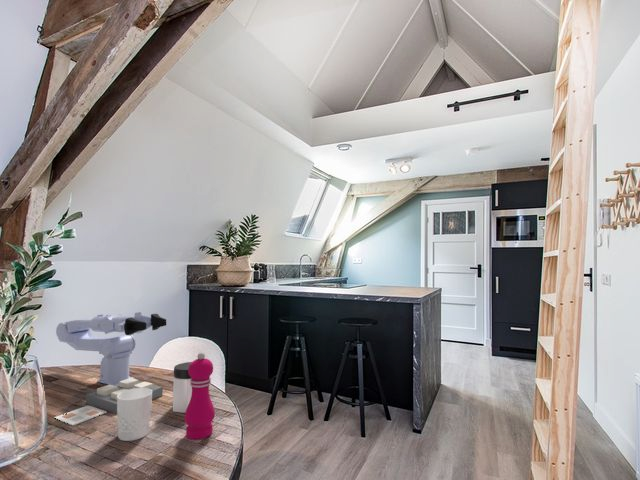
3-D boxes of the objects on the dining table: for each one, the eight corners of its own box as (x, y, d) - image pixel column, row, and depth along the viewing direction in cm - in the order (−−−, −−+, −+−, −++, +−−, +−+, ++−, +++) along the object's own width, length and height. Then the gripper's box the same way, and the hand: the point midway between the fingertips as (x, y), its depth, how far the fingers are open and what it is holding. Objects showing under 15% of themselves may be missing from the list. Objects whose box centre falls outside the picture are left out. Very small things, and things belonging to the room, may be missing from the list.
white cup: (141, 443, 85) (142, 400, 86) (108, 442, 85) (109, 399, 86) (156, 427, 93) (158, 388, 93) (126, 426, 93) (128, 387, 94)
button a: (96, 394, 109) (96, 388, 109) (109, 389, 112) (109, 384, 112) (104, 396, 107) (104, 391, 107) (117, 392, 110) (117, 386, 110)
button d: (132, 390, 112) (133, 385, 112) (144, 386, 115) (144, 381, 115) (141, 392, 110) (141, 387, 110) (152, 388, 113) (153, 383, 114)
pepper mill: (205, 442, 86) (207, 357, 86) (177, 439, 87) (180, 355, 88) (219, 428, 93) (221, 349, 94) (194, 425, 94) (195, 348, 95)
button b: (118, 386, 115) (119, 381, 115) (130, 382, 118) (130, 377, 119) (126, 388, 113) (126, 383, 113) (138, 385, 117) (138, 379, 117)
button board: (85, 403, 108) (86, 394, 108) (131, 387, 121) (132, 379, 121) (117, 413, 101) (117, 404, 101) (162, 395, 114) (162, 387, 114)
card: (53, 418, 97) (54, 417, 98) (88, 406, 105) (88, 405, 105) (72, 425, 93) (72, 424, 93) (106, 412, 101) (107, 411, 101)
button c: (111, 398, 106) (111, 392, 106) (123, 393, 109) (124, 388, 109) (119, 400, 104) (119, 395, 104) (132, 396, 107) (132, 390, 107)
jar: (174, 402, 109) (175, 362, 109) (202, 399, 111) (203, 360, 112) (171, 415, 100) (172, 371, 101) (201, 411, 102) (202, 369, 103)
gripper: (108, 315, 119) (135, 315, 113) (147, 309, 132) (173, 309, 126) (109, 336, 119) (136, 337, 113) (147, 329, 132) (173, 329, 125)
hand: (155, 324), depth 119 cm, fingers open, 7 cm apart
